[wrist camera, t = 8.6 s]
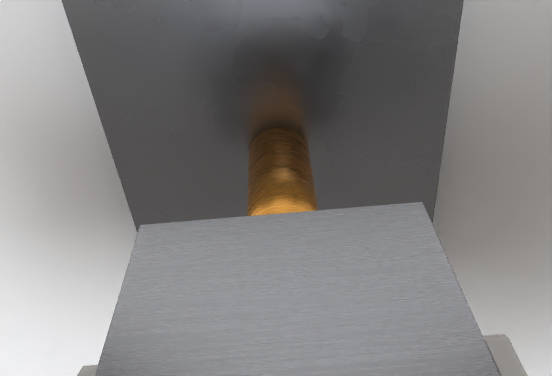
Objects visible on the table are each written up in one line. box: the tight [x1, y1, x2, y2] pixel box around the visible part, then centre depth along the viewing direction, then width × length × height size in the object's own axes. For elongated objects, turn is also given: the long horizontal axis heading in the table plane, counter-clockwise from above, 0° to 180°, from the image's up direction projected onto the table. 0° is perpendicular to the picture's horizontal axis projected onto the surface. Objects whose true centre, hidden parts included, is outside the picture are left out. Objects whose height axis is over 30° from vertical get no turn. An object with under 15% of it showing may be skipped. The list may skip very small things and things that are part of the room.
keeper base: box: [62, 0, 463, 232], centre depth 15 cm, size 12×16×8 cm
